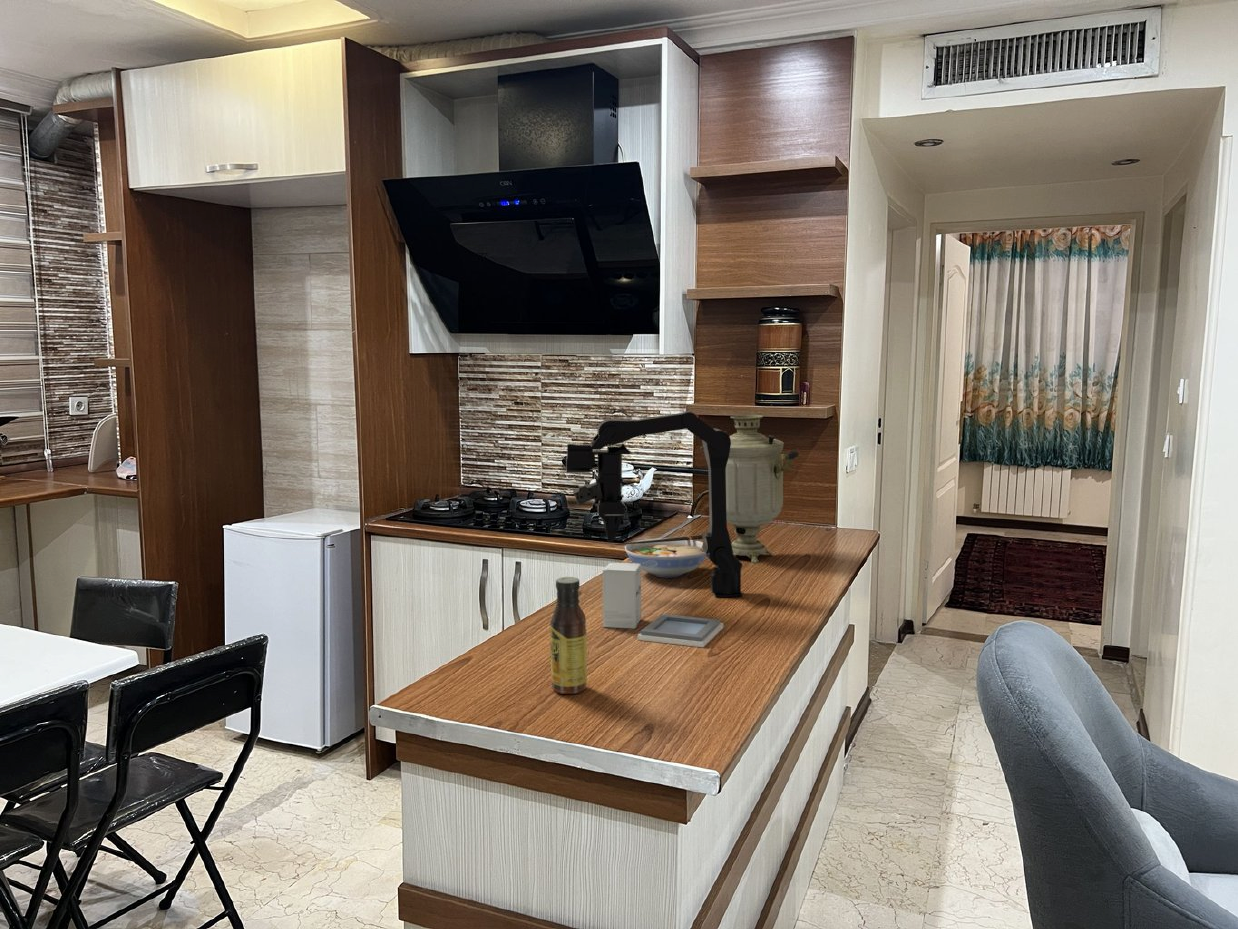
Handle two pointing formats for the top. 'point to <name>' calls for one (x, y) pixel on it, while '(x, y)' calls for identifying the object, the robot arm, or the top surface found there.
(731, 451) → the samovar
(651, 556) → the ramen bowl
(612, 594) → the supplement box
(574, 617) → the sauce bottle
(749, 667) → the top surface
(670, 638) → the grey square tray
